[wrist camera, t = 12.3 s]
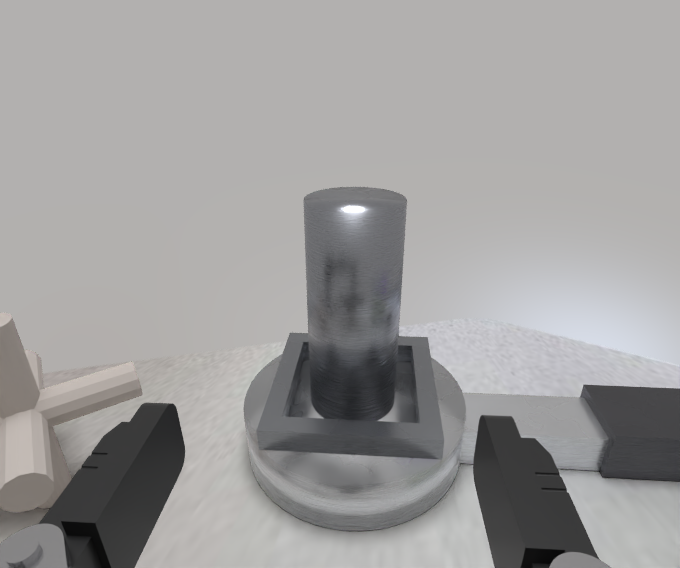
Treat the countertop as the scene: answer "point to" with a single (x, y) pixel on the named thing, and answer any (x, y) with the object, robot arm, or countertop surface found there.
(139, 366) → the countertop surface
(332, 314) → the grey glossy cylinder
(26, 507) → the pipe connector
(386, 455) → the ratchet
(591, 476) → the countertop surface
